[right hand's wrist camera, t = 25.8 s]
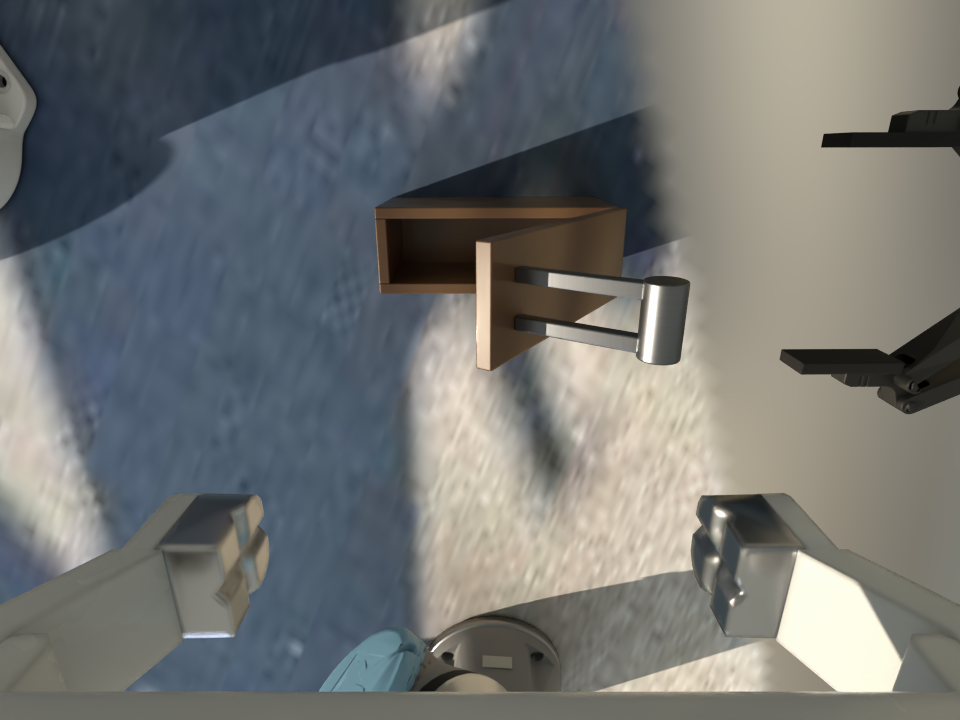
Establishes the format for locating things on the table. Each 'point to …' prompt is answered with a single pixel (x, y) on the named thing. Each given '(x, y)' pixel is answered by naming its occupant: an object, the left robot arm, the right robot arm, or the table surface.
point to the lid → (570, 291)
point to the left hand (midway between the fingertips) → (811, 258)
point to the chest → (455, 236)
